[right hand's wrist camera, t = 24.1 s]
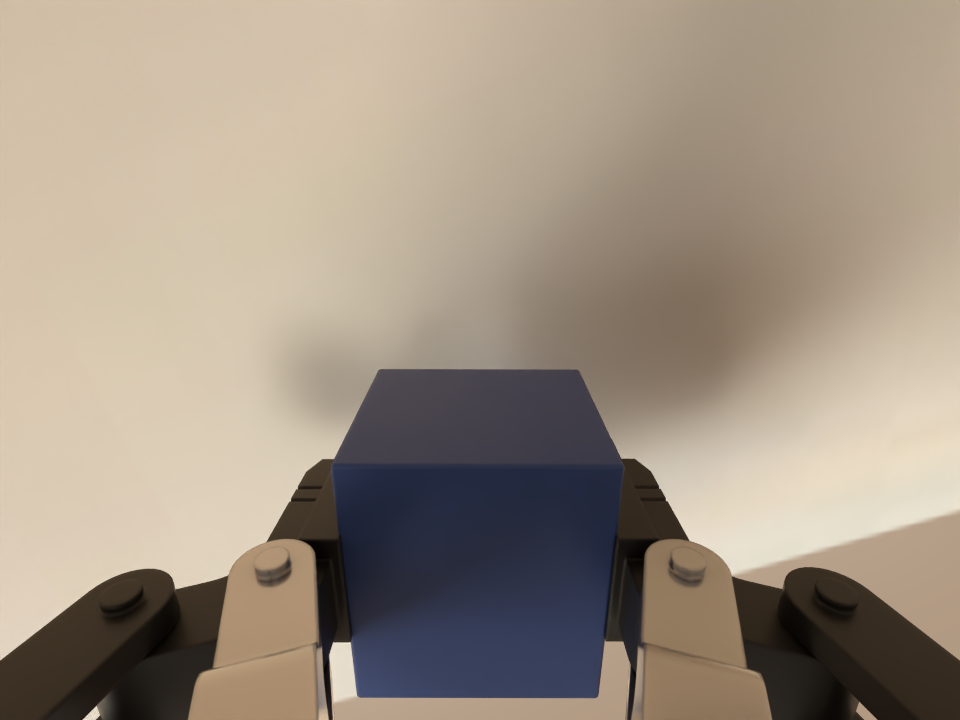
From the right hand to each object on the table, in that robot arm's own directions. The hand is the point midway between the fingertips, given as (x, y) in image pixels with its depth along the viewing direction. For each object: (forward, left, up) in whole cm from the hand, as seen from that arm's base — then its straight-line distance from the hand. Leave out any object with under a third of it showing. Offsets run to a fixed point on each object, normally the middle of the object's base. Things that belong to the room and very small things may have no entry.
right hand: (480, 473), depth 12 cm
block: (0, 0, -1) cm, 1 cm away
